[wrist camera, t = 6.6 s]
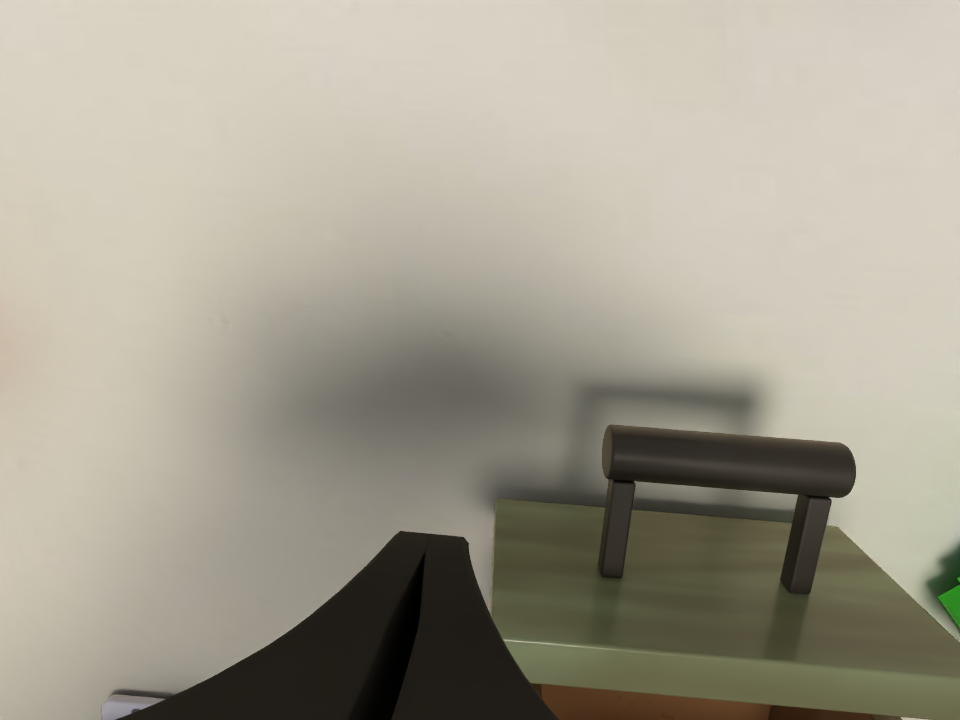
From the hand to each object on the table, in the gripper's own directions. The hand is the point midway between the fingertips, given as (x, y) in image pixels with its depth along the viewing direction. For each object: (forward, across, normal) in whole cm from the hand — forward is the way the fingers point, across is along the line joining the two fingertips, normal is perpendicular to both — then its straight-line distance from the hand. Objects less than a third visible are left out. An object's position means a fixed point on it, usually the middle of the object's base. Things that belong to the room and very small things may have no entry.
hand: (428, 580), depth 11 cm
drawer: (+8, -7, +6) cm, 13 cm away
